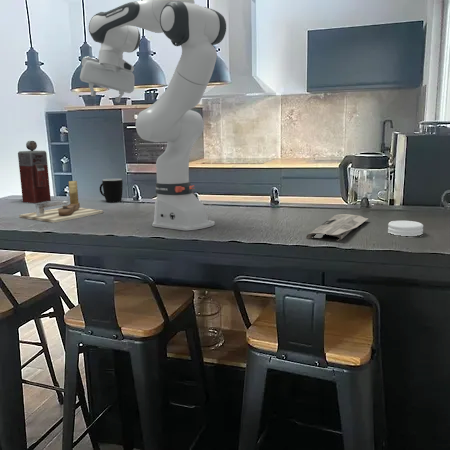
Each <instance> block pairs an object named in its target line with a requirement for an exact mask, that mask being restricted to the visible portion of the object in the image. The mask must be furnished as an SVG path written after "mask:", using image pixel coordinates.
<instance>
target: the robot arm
mask: <svg viewBox="0 0 450 450" xmlns="http://www.w3.org/2000/svg"><path fill="white" fill-rule="evenodd" d="M138 28H140V29H143V30H145V31H149V32H151V33H157V34H161V33H163V34H164V35H165V37H166V38H168V40H170V41H171V44H172V45H173V46H174V47H181V55H180V58H179V60H178V62H177V65H176V67H175V68H174V69H175V70H174V72H173V74H172V77H171V79H170V80H169V82H168V86H167V87H166V89H165V90H164V92H163V93H162V94H161V95H160V96H159V97H158V99H156V101H155V102H153V104H151V105H150V106H149V107H147V108H145V109H143V110H142V111H139V113H138V115H137V117H136V120H135V129H136V132H137V135H138V137H139V138H140V139H142V140H144V141H148V142H151V143H167V144H166V148H165V150H164V152H163V153H162V154H160V155H159V156H157V159H156V162H155V167H156V168H155V169H156V183H155V193H156V199H155V201H154V213H153V215H154V216H153V222H152V224H151V226H152V227H155V228H163V229H170V230H179V231H196V230H201V229H206V228H210V227H213V226H215V225H216V222H215V220H214V221H213V220H210V219H209V215H208V209H207V207H206V205H205V204H204V203H202V202H201V200H200V199H198V197H197V196H195V194H194V191H193V190H195V185H194V184H193V185H191V182H190V176H189V175H190V174H189V173H190V169H189V168H190V157H191V156H190V155H191V152H192V149H193V147H194V145H195V143H196V142H197V140H198V139H199V138H200V137H201V136H202V134H203V132H204V128H205V124H204V119H203V117H202V115H201V113H200V112H197V111H195V110H193V109H195V107H197V106H198V105H199V104H200V102H201V99H202V98H203V95H204V93H205V92H206V89H207V86H209V83H210V80H211V78H212V75H213V73H214V70H215V65H216V61H217V57H218V53H217V49H216V48H215V47H214V46H216V45H217V44H218V45H219V44H220V43H222V41H223V40H224V38H225V36H226V33H227V21H226V19H225V17H224V16H223V14H222V13H220V12H219V11H218V10H215V9H213V8H209V7H207V6H202V5H200V4H197V3H195V0H137V1H130V2H127V3H123V4H122V5H120V6H119V5H118V6H117V7H115V8H113V9H110V10H107V11H100V12H97V13H95V14H94V15H93V16H92V17H91V18H90V21H89V23H88V32H89V35H90V36H91V38H92V39H93V41H94V42H95V43H99V44H100V49H99V51H98V58H95V57H91V56H88V55H87V56H84V57H82V59H81V70H80V74H79V79H80V81H81V82H82V83H83V82H84V83H87V84H88V89H90V96H91V97H94V98H95V97H96V96H97V91H96V90H94V86H99V87H102V88H107V89H110V90H115V91H118V94H119V95H118V96H116V97H115V100H114V102H116V103H120V102H121V99H122V97H123V96H124V94H125V93H126V94H131V93H133V92H134V91H135V82H136V81H135V74H134V73H133V72H134V70H135V67H134V66H133V65H132V64H131V63H130V62H128V61H126V60H124V55H123V54H124V53H133V52H135V51H136V50H137V49H139V48H140V44H141V33H140V30H139V29H138Z"/></svg>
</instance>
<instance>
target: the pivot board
mask: <svg viewBox="0 0 450 450" xmlns="http://www.w3.org/2000/svg"><path fill="white" fill-rule="evenodd" d="M59 208H60V207H58V208H57V207H56V208H52V209H47V210H45V209H44V216H37V215H36V211H35V212H34V211H33V212H30V213H29V212H28V213H23V214H19V215H18V217H19V218H21V219H28V220H33V221H40V222H46V223H60V222H64V221H70V220H75V219H79V218H85V217H90V216H95V215H99V214H103V213H104V210H103V209H94V208H93V209H92V208H85V207H80V208H79V209H77V210H75V211H73V212H72V214H69V215H59V213H58V209H59ZM61 208H63V207H62V206H61Z"/></svg>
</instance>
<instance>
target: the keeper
mask: <svg viewBox="0 0 450 450" xmlns="http://www.w3.org/2000/svg"><path fill="white" fill-rule="evenodd" d="M68 204H70V200H52V201H46V202H40V203H34V205H35V212H36V215H37V216H44V211H45V208H49V207H50V208H51V207H56V206H61V208H62V207H63V208H68V207H67V205H68Z"/></svg>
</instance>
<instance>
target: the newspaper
mask: <svg viewBox="0 0 450 450" xmlns="http://www.w3.org/2000/svg"><path fill="white" fill-rule="evenodd" d="M368 220H369V218H367V217H365V216H364V217H363V216H362V215H356V214H349V213H348V214H346V213H345V214H344V213H342V214H340V213H339V214H335V215H333V216H332V217H331V218H329V219H328V220H326V221H325V222H323V223H322V224H321V225H319V226H318V227H316V228H315V229H313V230H311V232H309V233H307V235H306V236H305V237H306V239H309V238H312V237H314V236H315V235H316V234H326V235H327V236H328V235H329V236H333V237H337V239H338V238H339V239H338V240H337V239H336V241H337V242H340V241H341V240H343V238H345V237H347V235H348V234H349V233H350V232H352V231H353V230H354V229H356V228H358V227H359V226H360V225H362V224H363V223H364V222H367V221H368Z"/></svg>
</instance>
